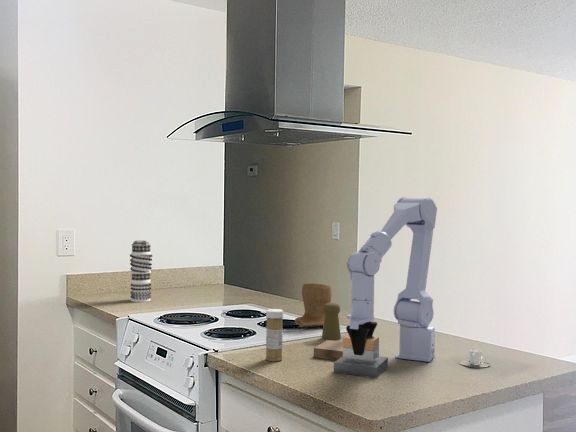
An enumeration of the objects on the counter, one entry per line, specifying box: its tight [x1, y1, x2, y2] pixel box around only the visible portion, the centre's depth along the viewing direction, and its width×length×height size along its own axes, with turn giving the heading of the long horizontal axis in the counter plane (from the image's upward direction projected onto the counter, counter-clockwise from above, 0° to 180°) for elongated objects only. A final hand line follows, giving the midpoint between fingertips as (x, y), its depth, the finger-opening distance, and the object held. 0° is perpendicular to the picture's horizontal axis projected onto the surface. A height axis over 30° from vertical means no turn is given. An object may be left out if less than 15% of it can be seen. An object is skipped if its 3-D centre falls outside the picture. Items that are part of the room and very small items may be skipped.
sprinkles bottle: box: [265, 308, 284, 362], centre depth 167 cm, size 5×5×13 cm
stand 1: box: [313, 340, 343, 361], centre depth 174 cm, size 11×11×2 cm
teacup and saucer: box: [468, 348, 484, 365], centre depth 166 cm, size 9×8×4 cm
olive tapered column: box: [321, 302, 342, 341], centre depth 195 cm, size 6×6×11 cm
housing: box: [342, 333, 380, 361], centre depth 159 cm, size 8×5×5 cm, turn 66°
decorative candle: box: [129, 240, 153, 303], centre depth 262 cm, size 9×9×25 cm
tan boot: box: [294, 282, 332, 329], centre depth 214 cm, size 15×12×15 cm
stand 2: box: [333, 355, 389, 378], centre depth 159 cm, size 11×11×2 cm
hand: (361, 352), depth 159 cm, fingers closed on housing, 5 cm apart
